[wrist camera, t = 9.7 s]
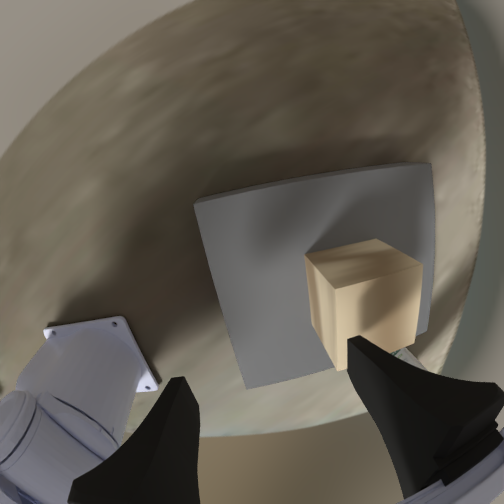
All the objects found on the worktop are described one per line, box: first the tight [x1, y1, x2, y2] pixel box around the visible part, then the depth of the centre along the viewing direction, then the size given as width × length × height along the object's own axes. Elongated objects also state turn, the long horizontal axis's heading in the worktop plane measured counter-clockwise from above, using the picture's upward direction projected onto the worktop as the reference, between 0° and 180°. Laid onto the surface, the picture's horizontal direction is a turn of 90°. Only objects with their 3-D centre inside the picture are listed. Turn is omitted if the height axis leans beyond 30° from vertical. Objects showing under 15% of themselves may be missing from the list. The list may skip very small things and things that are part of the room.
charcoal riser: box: [193, 162, 435, 389], centre depth 19 cm, size 16×14×3 cm
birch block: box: [304, 239, 423, 371], centre depth 15 cm, size 5×5×5 cm
